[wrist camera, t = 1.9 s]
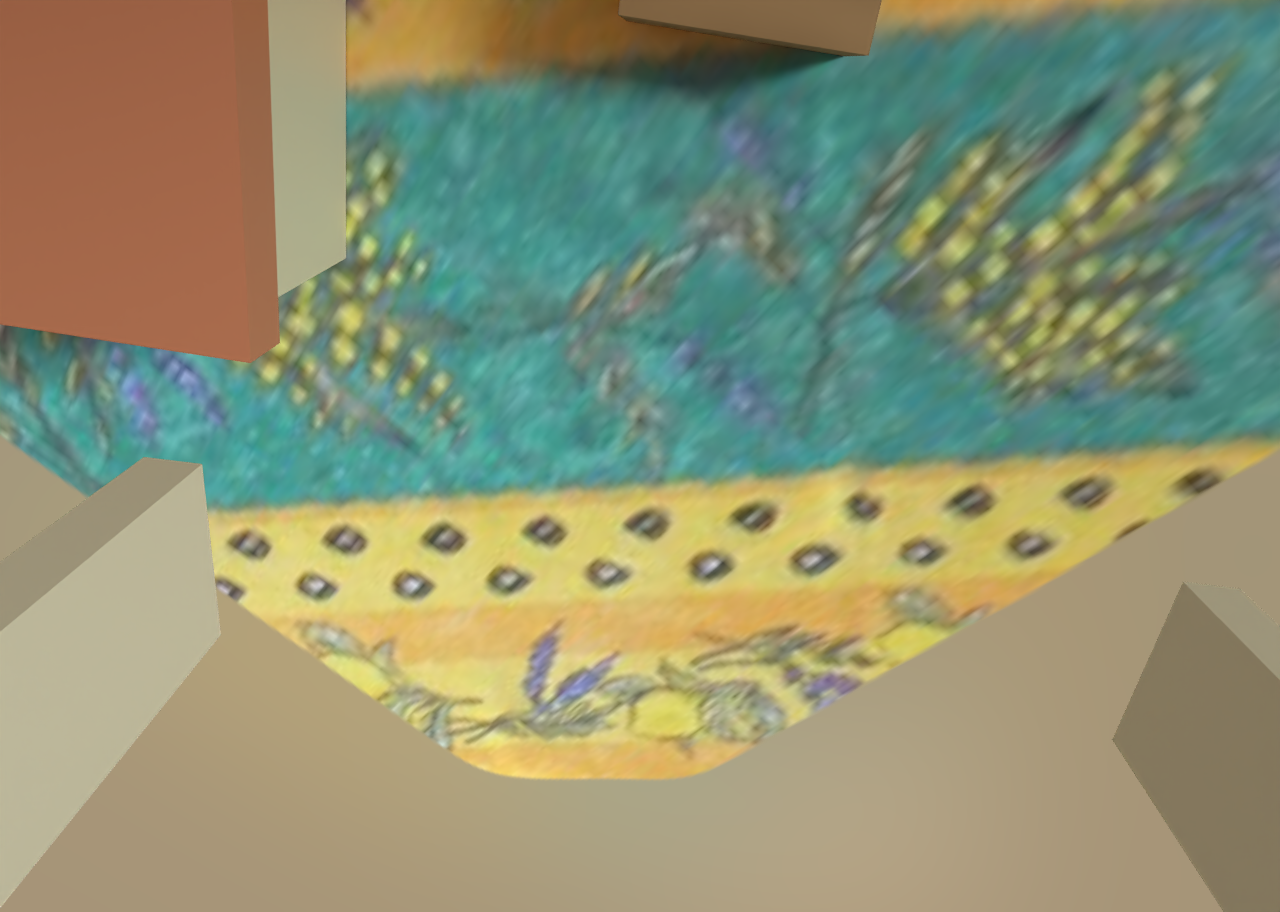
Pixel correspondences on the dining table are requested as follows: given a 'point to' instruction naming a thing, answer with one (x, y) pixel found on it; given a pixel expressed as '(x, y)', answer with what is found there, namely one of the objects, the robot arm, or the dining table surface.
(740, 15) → the wooden block
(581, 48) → the dining table surface
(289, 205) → the box
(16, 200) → the lid
